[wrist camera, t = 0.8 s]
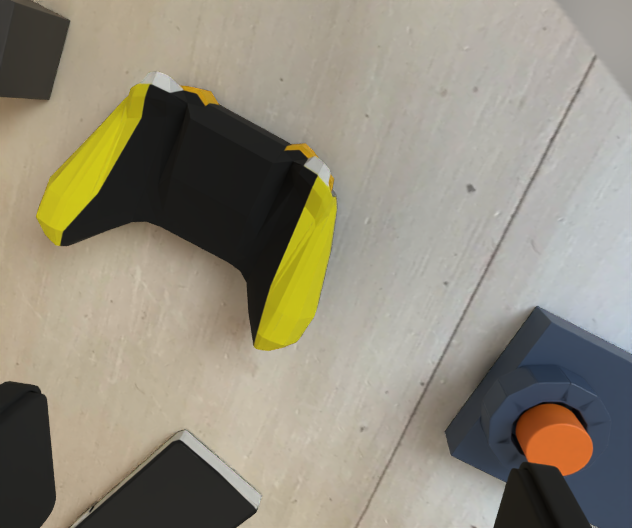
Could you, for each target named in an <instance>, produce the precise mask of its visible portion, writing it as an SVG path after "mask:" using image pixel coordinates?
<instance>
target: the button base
mask: <svg viewBox="0 0 632 528" xmlns="http://www.w3.org/2000/svg"><path fill="white" fill-rule="evenodd" d="M540 404H557V405H561V406H563V407H565V408H567V409H569V410H570V411H571V412H572V413H573V414H574V415H575V416H576V418H577V419H578V421H579V422H580V423H581V425H582V426H583V428H584V429H585V430H586V432H587V433H588V435H589V436H590V438H591V440H592V443H593V453H592V456H591V458H590V460H589V462H588V463H587V464H586V465H585V466H584V467H583V468H582V469H580V470H579V471H577V472H575V473H573V474H570V475H566V476H563V477H564V479H565V481H566V482H567V484H568V486H569V488H570V489H571V491H572V493H573V495H574V497H575V498H576V500H577V502H578V504H579V506H580V507H581V509H582V511H583V513H584V514H585V516H586V518H587V520H588V522H589V523H590V524H592V525H594V526H596V527H598V528H632V354H630V353H628V352H626V351H624V350H622V349H620V348H619V347H617V346H615V345H613V344H611V343H609V342H607V341H605V340H603V339H601V338H599V337H597V336H595V335H593V334H591V333H589V332H587V331H585V330H583V329H581V328H579V327H577V326H575V325H574V324H572V323H570V322H568V321H566V320H564V319H562V318H560V317H558V316H556V315H554V314H552V313H550V312H548V311H546V310H544V309H542V308H540V307H538V306H537V307H536V308H535V309H534V311H533V312H532V313H531V315H530V316H529V317H528V319H527V320H526V322H525V323H524V324H523V326H522V327H521V328H520V330H519V331H518V332H517V334H516V335H515V337H514V338H513V339H512V341H511V342H510V343H509V345H508V346H507V348H506V349H505V350H504V352H503V353H502V354H501V356H500V357H499V358H498V360H497V361H496V363H495V364H494V365H493V367H492V368H491V369H490V371H489V372H488V373H487V375H486V376H485V378H484V379H483V380H482V382H481V383H480V384H479V386H478V387H477V388H476V390H475V391H474V393H473V394H472V395H471V397H470V398H469V399H468V401H467V402H466V404H465V405H464V406H463V408H462V409H461V410H460V412H459V413H458V414H457V416H456V417H455V419H454V420H453V421H452V423H451V424H450V425H449V427H448V428H447V429H446V431H445V434H446V438H447V442H448V446H449V450H450V454H451V456H453V457H455V458H457V459H459V460H461V461H463V462H465V463H467V464H469V465H472V466H474V467H476V468H478V469H480V470H482V471H484V472H486V473H488V474H490V475H492V476H494V477H496V478H498V479H500V480H502V481H504V482H506V483H507V480H508V476H509V473H510V471H511V469H512V468H518V469H519V467H520V465H521V464H522V463H523V462H528V460H527V458H526V456H525V454H524V452H523V450H522V448H521V446H520V444H519V442H518V440H517V437H516V424H517V422H518V420H519V418H520V417H521V415H522V414H523V413H524V412H525V411H527V410H528V409H530V408H532V407H534V406H537V405H540Z"/></svg>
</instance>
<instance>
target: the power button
mask: <svg viewBox="0 0 632 528" xmlns="http://www.w3.org/2000/svg"><path fill="white" fill-rule="evenodd" d="M516 437H517V440H518V442H519V444H520V446H521V448H522V450H523V452H524V454H525V456H526V458H527V460H528V462H531V463H538V464H544V465H551V466H555V467H557V468H558V469H559V470H560V472H561V473H562V475H563V476H566V475H570V474H573V473H575V472H577V471H579V470H580V469H582V468H583V467H584V466H585V465H586V464H587V463H588V462H589V460H590V458H591V456H592V453H593V443H592V440H591V438H590V436H589V435H588V433H587V432H586V430H585V429H584V428H583V426H582V425H581V423H580V422H579V421H578V419H577V418H576V416H575V415H574V414H573V413H572V412H571V411H570V410H569V409H567V408H565V407H563V406H561V405H557V404H540V405H537V406H534V407H532V408H530V409H528V410H527V411H525V412H524V413H523V414H522V415H521V417H520V418H519V420H518V422H517V424H516Z"/></svg>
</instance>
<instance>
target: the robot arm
mask: <svg viewBox="0 0 632 528" xmlns="http://www.w3.org/2000/svg"><path fill="white" fill-rule="evenodd" d="M55 501H56V491H55V480H54V470H53V459H52V448H51V437H50V427H49V416H48V405H47V398H46V396H45V395H44V394H41V390H40V389H39V387H38V386H35V385H31V384H24V383H18V382H11V381H8V382H4V383H2V384H0V528H40V527H41V526H42V525H43V523H44V522H45V521H46V520H47V518H48V517H49V515H50V514H51V512H52V510H53V508H54V505H55ZM493 528H592V527H591V525H590V523H589V522H588V520H587V518H586V516H585V514H584V513H583V511H582V509H581V507H580V506H579V504H578V502H577V500H576V498H575V497H574V495H573V493H572V491H571V489H570V488H569V486H568V484H567V482H566V481H565V479H564V477H563V475H562V473H561V472H560V470H559V469H558V468H557V467H555V466H551V465H544V464H538V463H531V462H523V463H522V464H521V465H520V467H519V469H518V468H512V469H511V471H510V473H509V476H508V480H507V483H506V486H505V490H504V493H503V497H502V500H501V503H500V507H499V510H498V514H497V517H496V521H495V524H494V527H493Z"/></svg>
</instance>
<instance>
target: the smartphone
mask: <svg viewBox="0 0 632 528" xmlns="http://www.w3.org/2000/svg"><path fill="white" fill-rule="evenodd" d="M260 500H261V495H260V494H259V493H258V492H257V491H256V490H255V489H254V488H252V487H251V486H250V485H249V484H248V483H247V482H246V481H244V480H243V479H242V478H241V477H240V476H239V475H237V474H236V473H235V472H234V471H233V470H232V469H230V468H229V467H228V466H227V465H226V464H225V463H224V462H222V461H221V460H220V459H219V458H218V457H217V456H215V455H214V454H213V453H212V452H211V451H210V450H208V449H207V448H206V447H205V446H204V445H203V444H202V443H200V442H199V441H198V440H197V439H196V438H195V437H193V436H192V435H191V434H190V433H189V432H188V431H186V430H183V431H180V432H177V433H176V434H175V435H174V436H173V437H172V438H171V439H170V440H168V441H167V442H166V443H165V444H164V445H163V446H162V447H161V448H159V449H158V450H157V451H156V452H155V453H154V454H153V455H151V456H150V457H149V458H148V459H147V460H146V461H145V462H144V463H142V464H141V465H140V466H139V467H138V468H137V469H136V470H135V471H133V472H132V473H131V474H130V475H129V476H128V477H127V478H125V479H124V480H123V481H122V482H121V483H120V484H119V485H118V486H116V487H115V488H114V489H113V490H112V491H111V492H110V493H109V494H107V495H106V496H105V497H104V498H103V499H102V500H101V501H99V502H98V503H97V504H96V505H95V506H92V507H91V508H90V509H89V510H87V511H86V512H85V513H84V514H83V515H82V516H81V517H79V518H78V519H77V520H76V521H75V522H74V524H73V525H72V526H71V527H70V528H236V527H238V526H239V525H240V524H242V523H243V522H244V521H246V520H247V519H248V518H250V517H251V516H252V515H254V514H255V513H256V512H257V510H258V507H259V504H260Z"/></svg>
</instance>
